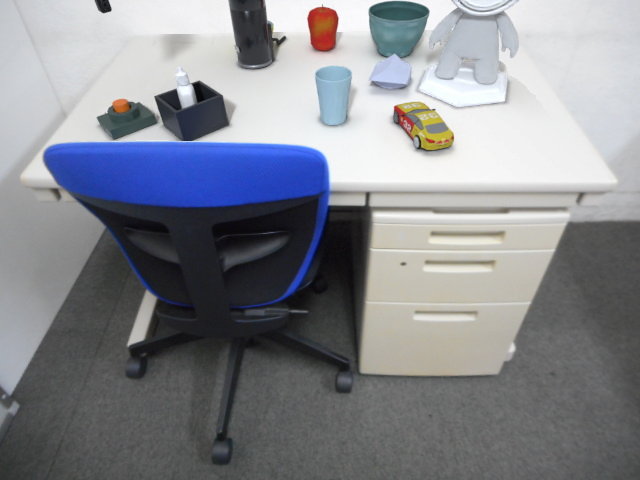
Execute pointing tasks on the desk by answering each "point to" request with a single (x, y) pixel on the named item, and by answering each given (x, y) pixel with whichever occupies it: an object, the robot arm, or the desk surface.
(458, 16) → the white toy figurine
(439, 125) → the toy car
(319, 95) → the cup
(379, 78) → the wedge on round base
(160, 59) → the desk surface
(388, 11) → the flower pot
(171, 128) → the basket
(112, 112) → the control block
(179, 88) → the eye dropper bottle
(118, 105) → the button
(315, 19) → the apple
